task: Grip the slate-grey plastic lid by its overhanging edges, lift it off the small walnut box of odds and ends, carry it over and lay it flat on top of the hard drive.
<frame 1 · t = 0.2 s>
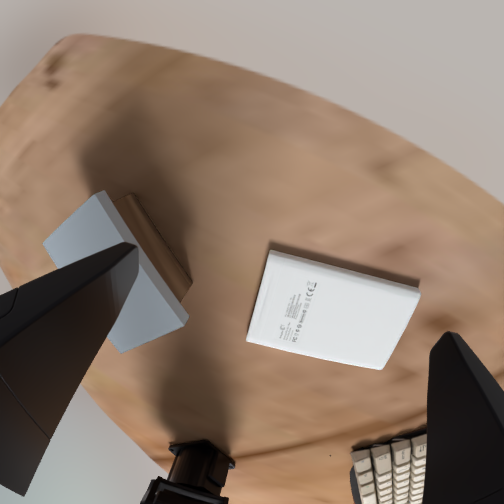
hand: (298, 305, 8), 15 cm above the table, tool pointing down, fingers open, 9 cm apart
external hard drive: (331, 309, 26), on the table
box: (140, 252, 26), on the table
mechanical keyboard: (402, 489, 36), on the table
lid: (114, 275, 21), point 4 cm above the table, touching box
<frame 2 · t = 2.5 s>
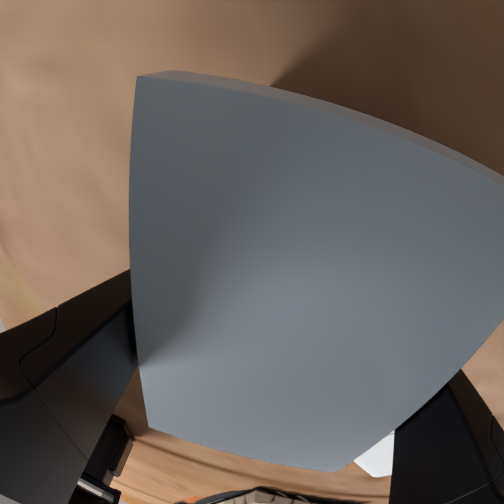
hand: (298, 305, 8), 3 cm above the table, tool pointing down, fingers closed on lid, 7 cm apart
external hard drive: (401, 424, 18), on the table
lid: (293, 341, 7), point 5 cm above the table, touching box, gripper
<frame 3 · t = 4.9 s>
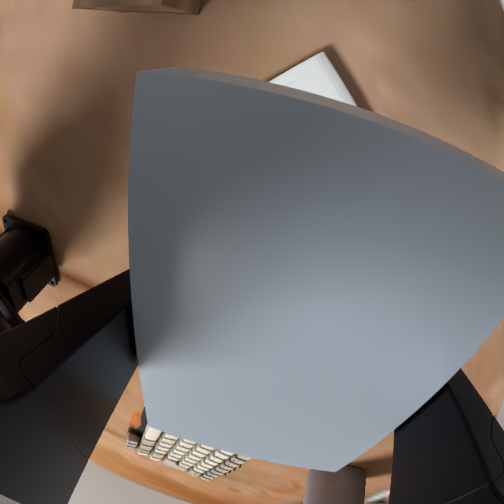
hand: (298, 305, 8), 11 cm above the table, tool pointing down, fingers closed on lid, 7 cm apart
external hard drive: (317, 178, 18), on the table
mechanical keyboard: (197, 426, 40), on the table
lid: (293, 340, 7), point 12 cm above the table, touching gripper
pillar candle: (336, 472, 42), on the table
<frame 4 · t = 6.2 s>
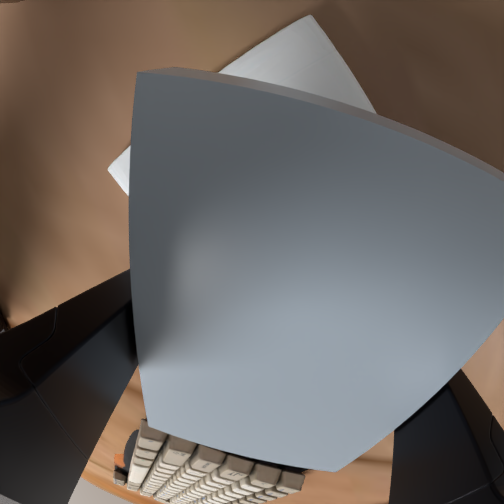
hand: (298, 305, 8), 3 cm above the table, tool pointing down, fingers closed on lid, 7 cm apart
external hard drive: (308, 232, 12), on the table
mechanical keyboard: (183, 472, 34), on the table
lid: (293, 340, 7), point 5 cm above the table, touching gripper
when the fingers open (3 cm above the table, at t = 7.1 s): lid drops 4 cm, resting on external hard drive.
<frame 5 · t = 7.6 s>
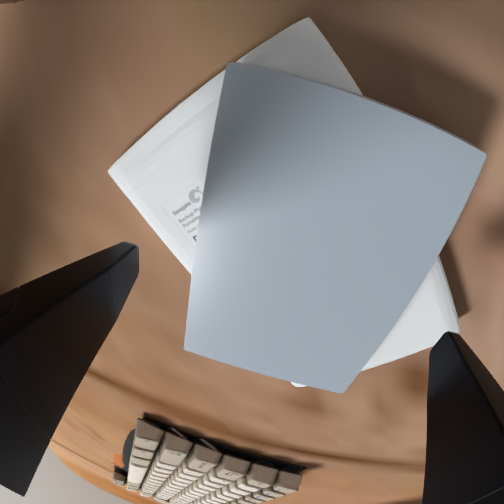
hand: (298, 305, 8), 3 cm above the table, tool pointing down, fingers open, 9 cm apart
external hard drive: (308, 234, 12), on the table, touching lid
mechanical keyboard: (181, 472, 34), on the table
lid: (309, 254, 10), point 1 cm above the table, touching external hard drive
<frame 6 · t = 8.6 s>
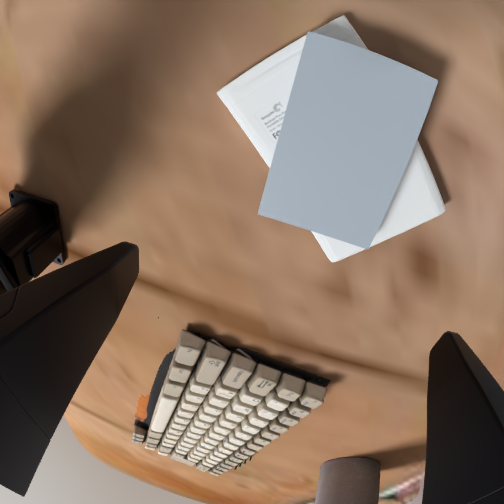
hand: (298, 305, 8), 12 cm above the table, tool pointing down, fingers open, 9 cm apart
external hard drive: (340, 141, 18), on the table, touching lid
mechanical keyboard: (205, 416, 39), on the table
lid: (344, 141, 16), point 1 cm above the table, touching external hard drive
pillar candle: (349, 465, 41), on the table
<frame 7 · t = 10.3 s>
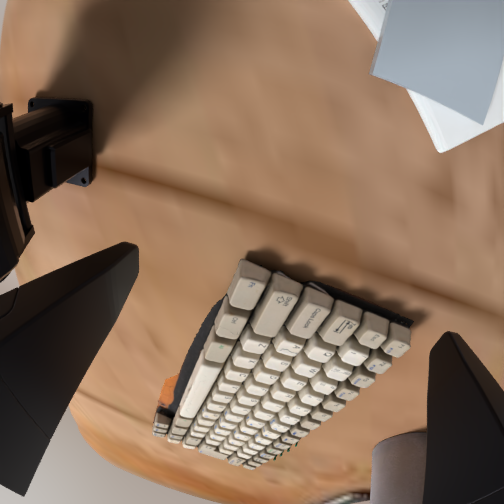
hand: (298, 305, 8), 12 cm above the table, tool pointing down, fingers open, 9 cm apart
external hard drive: (437, 30, 13), on the table, touching lid
mechanical keyboard: (247, 393, 34), on the table
lid: (447, 16, 11), point 1 cm above the table, touching external hard drive
pillar candle: (404, 444, 36), on the table
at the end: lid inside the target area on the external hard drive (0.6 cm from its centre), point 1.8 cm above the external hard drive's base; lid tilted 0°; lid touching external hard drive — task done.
